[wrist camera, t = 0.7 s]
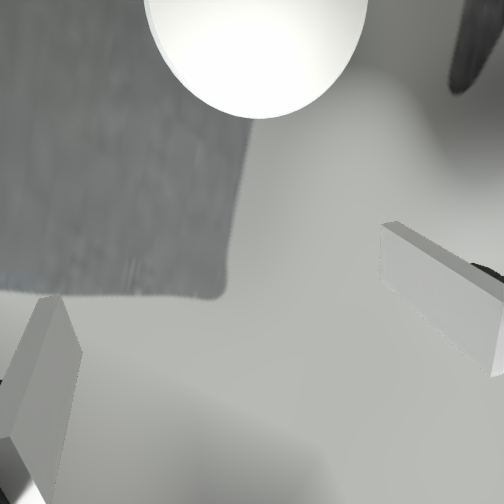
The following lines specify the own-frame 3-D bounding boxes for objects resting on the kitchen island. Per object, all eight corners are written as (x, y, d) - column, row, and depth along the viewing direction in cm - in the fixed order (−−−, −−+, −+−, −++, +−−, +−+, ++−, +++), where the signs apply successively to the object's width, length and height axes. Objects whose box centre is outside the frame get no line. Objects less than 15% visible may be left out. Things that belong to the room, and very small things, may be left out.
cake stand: (97, -16, 32) (85, -40, 26) (260, -166, 31) (289, -231, 24) (229, 149, 39) (245, 163, 33) (364, 33, 38) (408, 23, 32)
